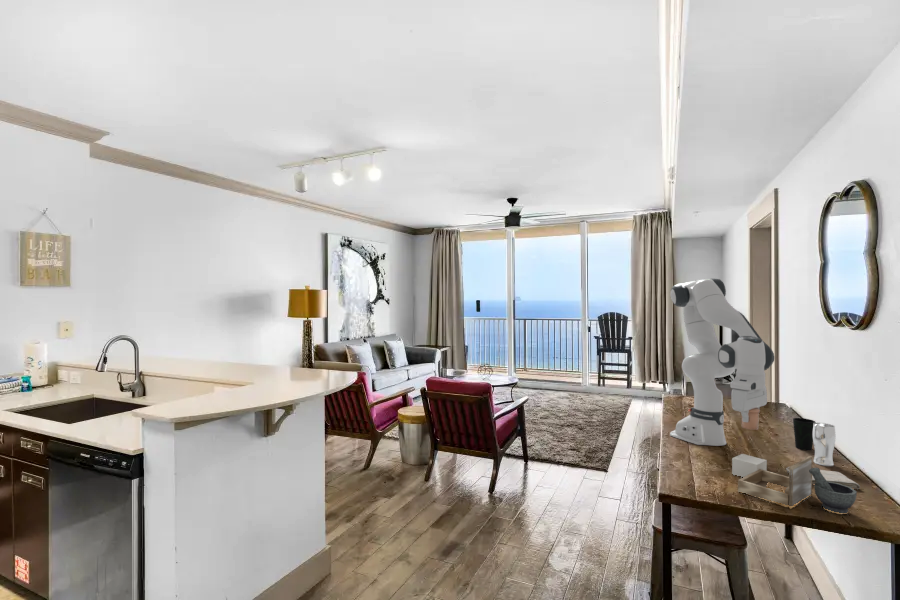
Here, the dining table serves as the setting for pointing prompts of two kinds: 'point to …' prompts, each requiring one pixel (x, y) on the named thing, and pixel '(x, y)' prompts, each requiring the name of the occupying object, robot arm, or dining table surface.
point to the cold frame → (780, 483)
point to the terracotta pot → (752, 419)
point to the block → (747, 465)
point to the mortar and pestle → (833, 493)
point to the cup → (803, 433)
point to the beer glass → (823, 443)
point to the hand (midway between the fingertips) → (749, 420)
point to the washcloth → (835, 478)
